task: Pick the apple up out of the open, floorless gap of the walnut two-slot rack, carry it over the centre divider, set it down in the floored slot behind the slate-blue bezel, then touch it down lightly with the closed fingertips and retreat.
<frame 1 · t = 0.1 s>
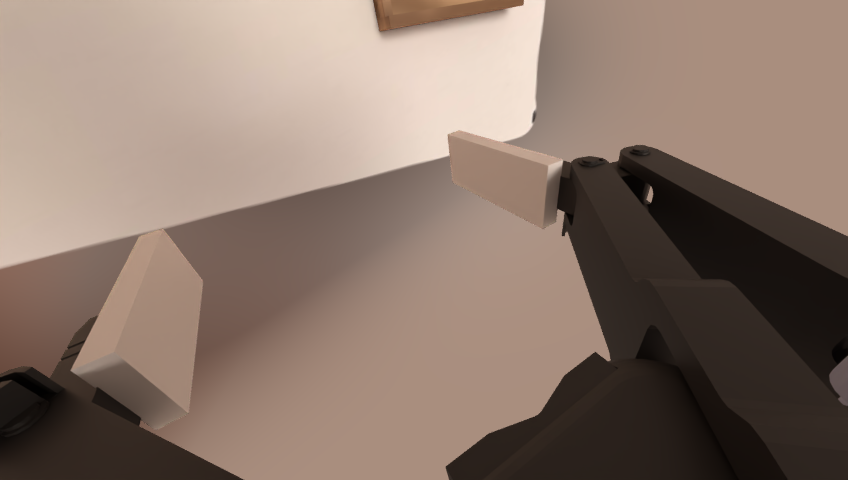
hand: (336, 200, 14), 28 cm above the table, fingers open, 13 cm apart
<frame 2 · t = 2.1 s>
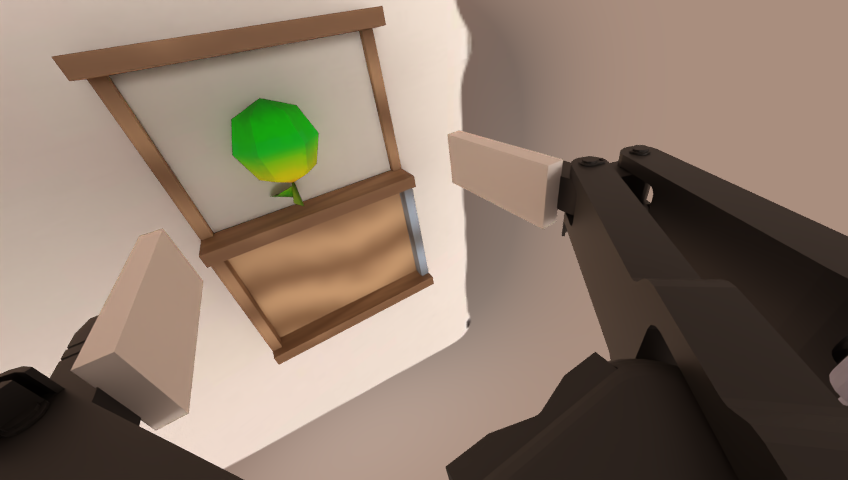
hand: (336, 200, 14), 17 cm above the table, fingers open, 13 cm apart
apple: (278, 149, 27), on the table
rack: (313, 203, 31), on the table
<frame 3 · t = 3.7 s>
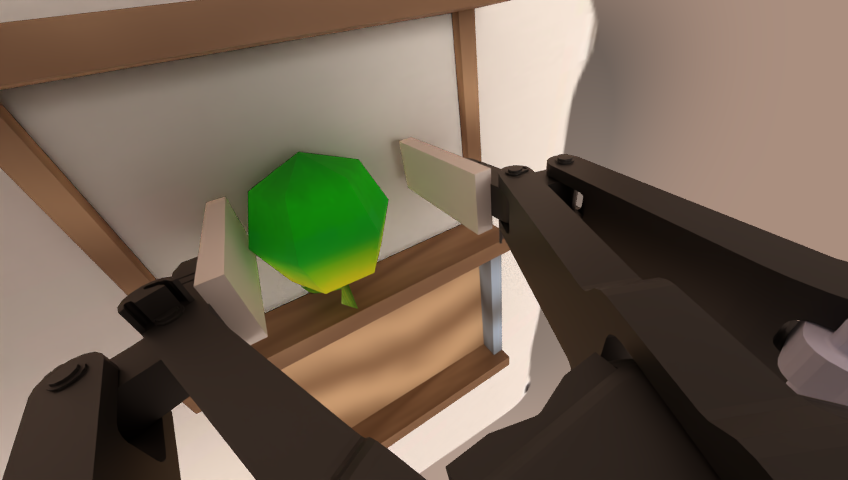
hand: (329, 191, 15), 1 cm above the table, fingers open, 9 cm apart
apple: (317, 218, 17), on the table, touching gripper
rack: (360, 278, 20), on the table
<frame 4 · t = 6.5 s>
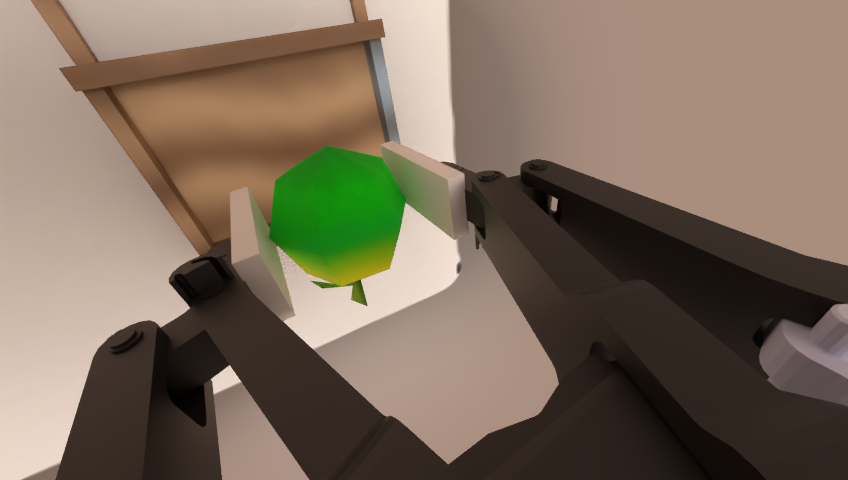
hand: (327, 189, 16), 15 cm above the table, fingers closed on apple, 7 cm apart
apple: (332, 213, 18), point 14 cm above the table, touching gripper
rack: (248, 51, 23), on the table
when the fingers open (3 cm above the table, at t = 9.1 s): apple drops 1 cm, resting on rack.
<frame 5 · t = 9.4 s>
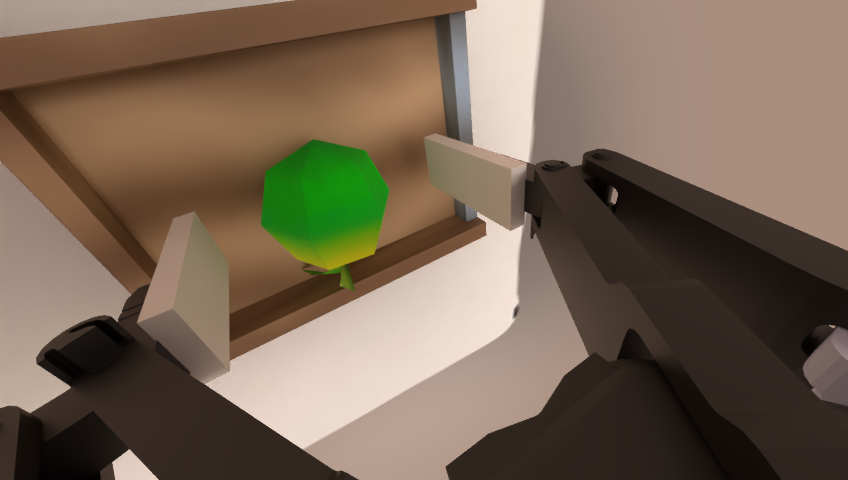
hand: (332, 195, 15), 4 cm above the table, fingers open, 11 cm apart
apple: (321, 205, 19), point 1 cm above the table, touching rack
rack: (260, 32, 14), on the table
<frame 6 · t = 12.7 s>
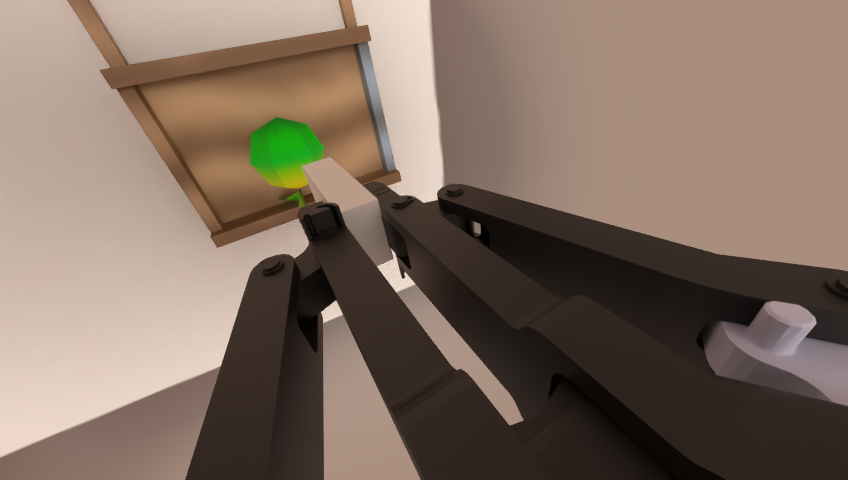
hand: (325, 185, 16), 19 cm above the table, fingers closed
apple: (288, 159, 31), point 1 cm above the table, touching rack
rack: (253, 54, 27), on the table
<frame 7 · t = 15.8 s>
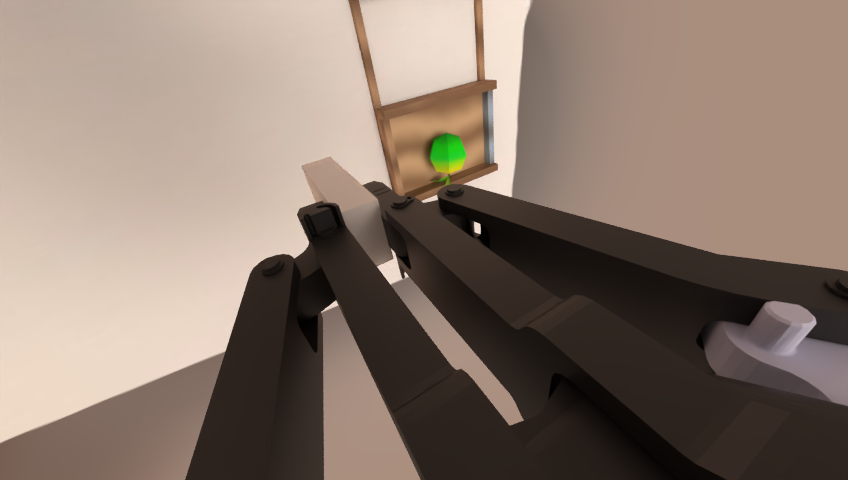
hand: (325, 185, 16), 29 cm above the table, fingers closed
apple: (438, 156, 52), point 1 cm above the table, touching rack
rack: (432, 97, 48), on the table
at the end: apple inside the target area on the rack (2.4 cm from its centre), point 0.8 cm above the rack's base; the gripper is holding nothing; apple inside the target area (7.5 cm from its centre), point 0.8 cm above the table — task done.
